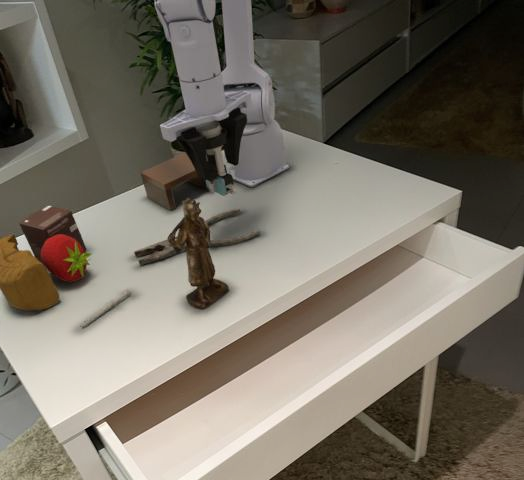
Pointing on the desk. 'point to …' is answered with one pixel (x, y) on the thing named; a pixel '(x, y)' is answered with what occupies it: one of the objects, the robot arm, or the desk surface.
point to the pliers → (169, 249)
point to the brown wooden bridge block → (169, 179)
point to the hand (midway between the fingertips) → (218, 170)
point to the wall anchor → (104, 309)
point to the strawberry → (64, 258)
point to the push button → (216, 159)
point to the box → (49, 228)
